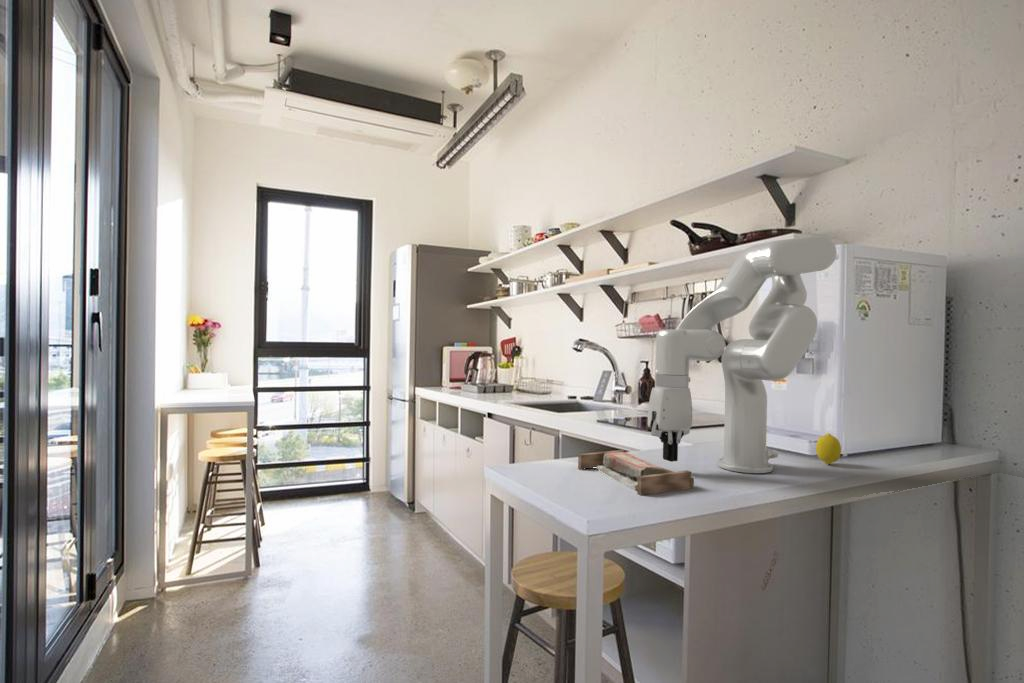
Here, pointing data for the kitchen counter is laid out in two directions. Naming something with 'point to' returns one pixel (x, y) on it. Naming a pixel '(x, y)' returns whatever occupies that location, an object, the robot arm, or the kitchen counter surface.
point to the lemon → (828, 448)
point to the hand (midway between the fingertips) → (670, 460)
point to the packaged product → (627, 468)
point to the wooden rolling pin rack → (647, 482)
